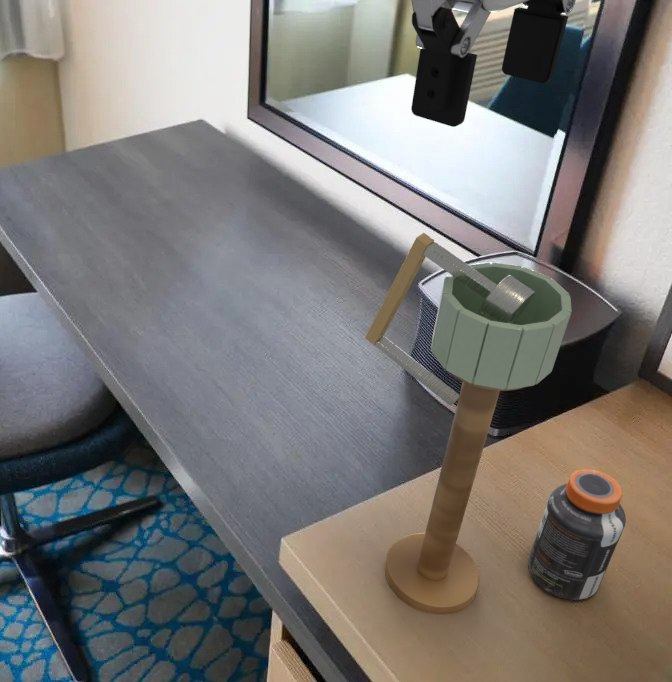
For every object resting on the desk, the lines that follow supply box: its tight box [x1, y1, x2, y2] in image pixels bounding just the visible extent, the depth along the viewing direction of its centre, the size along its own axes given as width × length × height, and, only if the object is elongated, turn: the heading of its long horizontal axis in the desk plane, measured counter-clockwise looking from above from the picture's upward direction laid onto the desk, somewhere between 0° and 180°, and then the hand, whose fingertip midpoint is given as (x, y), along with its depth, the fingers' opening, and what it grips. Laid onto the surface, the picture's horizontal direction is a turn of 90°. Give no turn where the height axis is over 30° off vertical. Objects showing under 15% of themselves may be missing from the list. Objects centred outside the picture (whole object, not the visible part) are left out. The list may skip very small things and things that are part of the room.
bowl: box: [430, 261, 573, 391], centre depth 54 cm, size 8×8×5 cm
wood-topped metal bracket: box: [364, 232, 535, 406], centre depth 57 cm, size 12×3×8 cm
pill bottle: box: [527, 468, 627, 601], centre depth 67 cm, size 6×6×11 cm
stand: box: [384, 372, 525, 615], centre depth 63 cm, size 8×8×26 cm
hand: (483, 97), depth 48 cm, fingers open, 9 cm apart
